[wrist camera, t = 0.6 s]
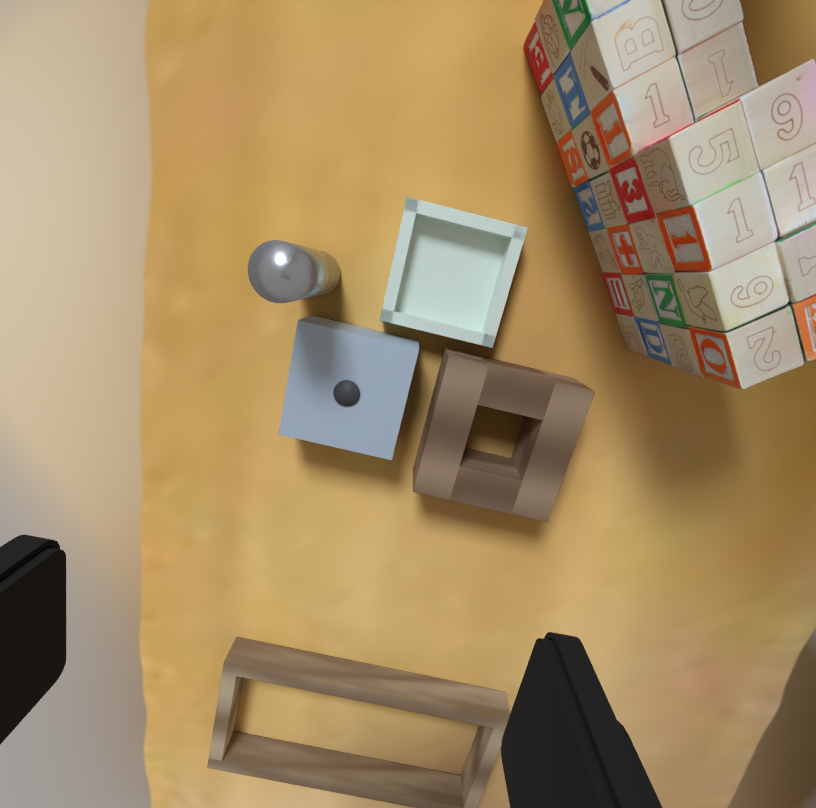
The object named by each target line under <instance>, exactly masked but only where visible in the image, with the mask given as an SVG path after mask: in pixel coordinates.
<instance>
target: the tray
mask: <svg viewBox="0 0 816 808" xmlns="http://www.w3.org/2000/svg"><path fill="white" fill-rule="evenodd" d="M526 232H527V227H523V226H519V225H515V224H511V223H507V222H503V221H500V220H496V219H492V218H488V217H484V216H480V215H476V214H472V213H468V212H465V211H461V210H457V209H453V208H449V207H445V206H441V205H437V204H433V203H430V202H426V201H422V200H418V199H414V198H410V197H407V199H406V203H405V208H404V212H403V217H402V221H401V226H400V231H399V235H398V240H397V244H396V249H395V253H394V258H393V263H392V267H391V272H390V276H389V281H388V285H387V290H386V294H385V299H384V304H383V308H382V313H381V317H380V321H384V322H388V323H392V324H396V325H401V326H405V327H409V328H413V329H417V330H421V331H425V332H429V333H433V334H438V335H442V336H446V337H450V338H454V339H458V340H462V341H466V342H470V343H475V344H479V345H483V346H487V347H491V348H493V345H494V341H495V338H496V334H497V331H498V327H499V324H500V321H501V317H502V314H503V310H504V307H505V303H506V300H507V297H508V293H509V290H510V286H511V283H512V280H513V276H514V273H515V269H516V266H517V262H518V259H519V256H520V252H521V249H522V245H523V242H524V238H525V235H526Z"/></svg>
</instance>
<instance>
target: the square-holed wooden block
mask: <svg viewBox="0 0 816 808" xmlns="http://www.w3.org/2000/svg"><path fill="white" fill-rule="evenodd" d="M594 393H595V392H594V391H593V390H591V389H590V388H588V387H587V386H585V385H584V384H582V383H581V382H579V381H577V380H576V379H574V378H570V377H566V376H562V375H558V374H553V373H549V372H545V371H541V370H537V369H533V368H529V367H525V366H520V365H516V364H512V363H508V362H504V361H500V360H496V359H491V358H487V357H483V356H479V355H475V354H471V353H467V352H462V351H458V350H454V349H450V348H446V347H445V350H444V353H443V357H442V361H441V365H440V369H439V372H438V376H437V380H436V384H435V388H434V391H433V395H432V399H431V403H430V407H429V410H428V414H427V418H426V422H425V426H424V429H423V433H422V437H421V441H420V445H419V448H418V452H417V456H416V460H415V464H414V467H413V492H416V493H420V494H425V495H429V496H433V497H438V498H442V499H447V500H451V501H456V502H460V503H465V504H469V505H473V506H478V507H482V508H487V509H491V510H496V511H500V512H504V513H509V514H513V515H518V516H522V517H527V518H531V519H536V520H540V521H544V522H548V519H549V516H550V513H551V511H552V508H553V505H554V502H555V500H556V497H557V494H558V492H559V489H560V486H561V483H562V481H563V478H564V475H565V472H566V470H567V467H568V464H569V461H570V459H571V456H572V453H573V450H574V448H575V445H576V442H577V439H578V437H579V434H580V431H581V429H582V426H583V423H584V420H585V418H586V415H587V412H588V409H589V407H590V404H591V401H592V398H593V396H594ZM477 405H481V406H485V407H489V408H493V409H498V410H502V411H506V412H510V413H515V414H519V415H523V416H525V418H524V421H523V424H522V427H521V430H520V433H519V436H518V439H517V442H516V445H515V448H514V451H513V454H512V458H506V457H502V456H498V455H493V454H489V453H485V452H481V451H476V450H472V449H468V448H465V446H466V442H467V439H468V435H469V432H470V429H471V425H472V422H473V418H474V415H475V412H476V408H477Z"/></svg>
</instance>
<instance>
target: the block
mask: <svg viewBox="0 0 816 808" xmlns="http://www.w3.org/2000/svg"><path fill="white" fill-rule="evenodd" d="M418 352H419V341H417V340H413V339H409V338H405V337H400V336H396V335H392V334H388V333H384V332H380V331H376V330H371V329H367V328H363V327H359V326H355V325H351V324H347V323H343V322H338V321H334V320H330V319H326V318H322V317H318V316H314V315H311V316H308V317H305V318H303V319H300V320H298V324H297V330H296V335H295V341H294V347H293V353H292V359H291V365H290V371H289V377H288V383H287V388H286V394H285V400H284V406H283V412H282V418H281V424H280V430H279V435H283V436H287V437H292V438H296V439H301V440H305V441H309V442H314V443H318V444H322V445H327V446H331V447H336V448H340V449H344V450H349V451H353V452H358V453H362V454H366V455H371V456H375V457H379V458H384V459H388V460H392V457H393V453H394V449H395V445H396V441H397V437H398V433H399V429H400V425H401V421H402V417H403V413H404V409H405V405H406V400H407V396H408V392H409V388H410V384H411V380H412V376H413V372H414V368H415V364H416V360H417V356H418Z"/></svg>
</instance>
